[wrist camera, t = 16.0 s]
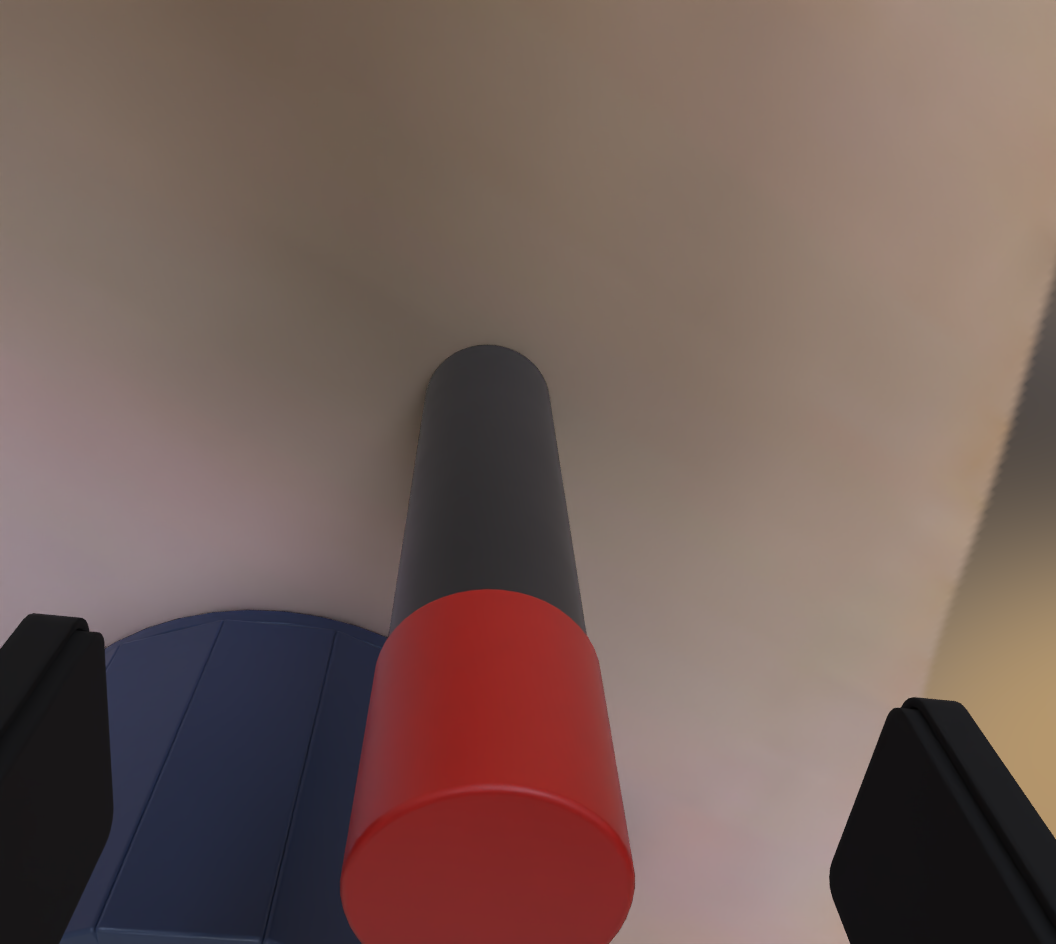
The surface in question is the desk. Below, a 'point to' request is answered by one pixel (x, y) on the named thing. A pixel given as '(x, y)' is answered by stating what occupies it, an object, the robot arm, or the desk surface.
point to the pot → (230, 781)
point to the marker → (487, 695)
